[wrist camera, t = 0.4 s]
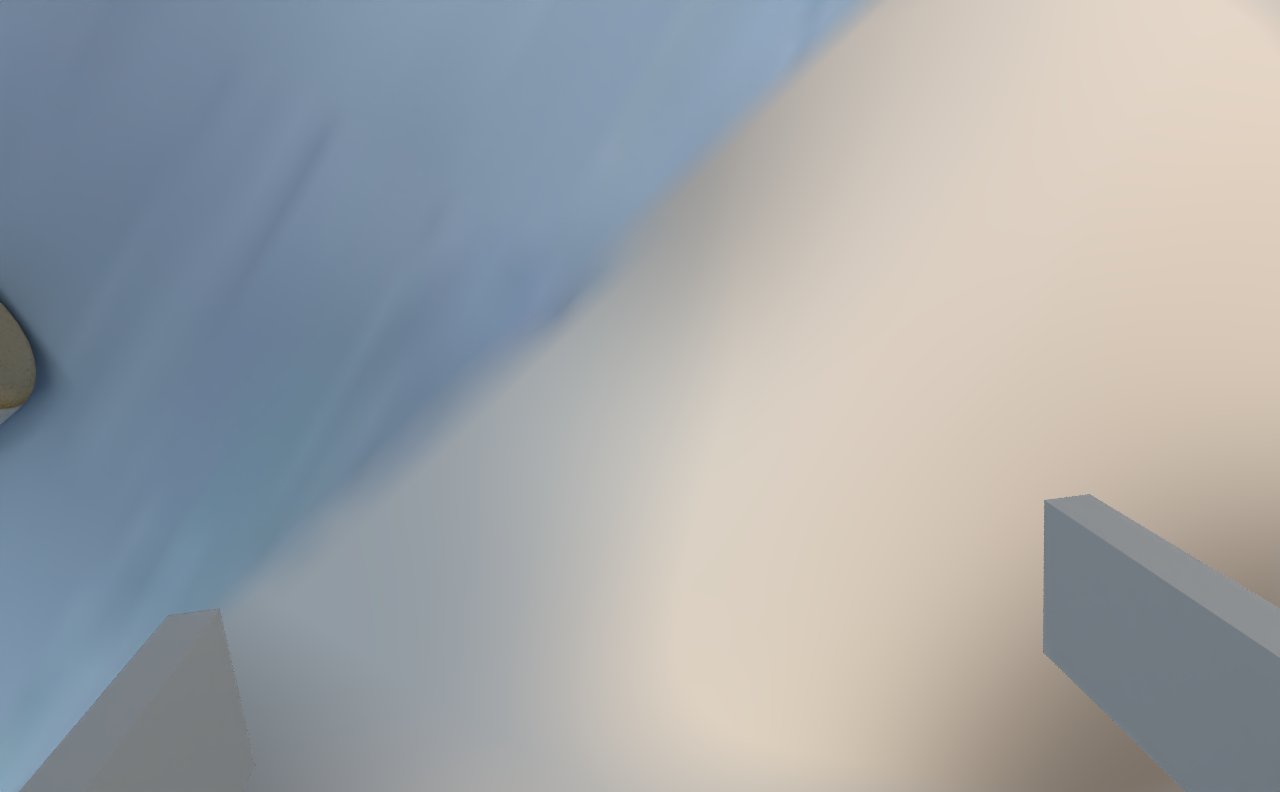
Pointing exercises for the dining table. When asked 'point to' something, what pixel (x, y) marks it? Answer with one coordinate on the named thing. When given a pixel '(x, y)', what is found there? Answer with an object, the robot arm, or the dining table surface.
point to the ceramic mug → (14, 366)
